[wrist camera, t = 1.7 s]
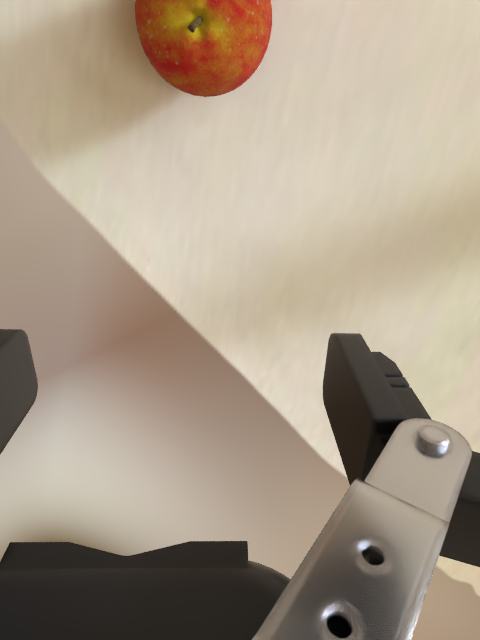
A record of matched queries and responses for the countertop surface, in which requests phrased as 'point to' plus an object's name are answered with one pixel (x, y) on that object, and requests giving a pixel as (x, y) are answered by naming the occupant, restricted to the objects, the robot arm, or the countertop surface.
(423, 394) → the countertop surface
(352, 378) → the robot arm
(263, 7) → the fruit
